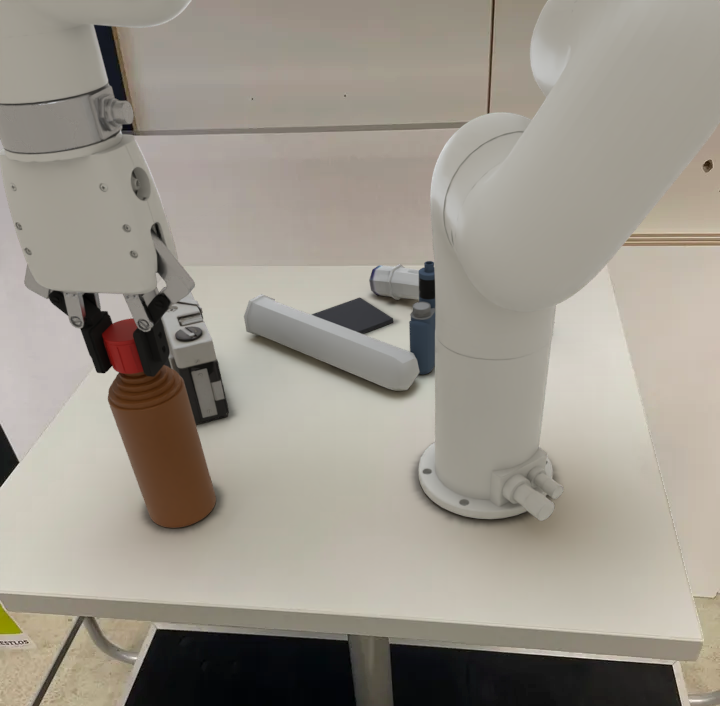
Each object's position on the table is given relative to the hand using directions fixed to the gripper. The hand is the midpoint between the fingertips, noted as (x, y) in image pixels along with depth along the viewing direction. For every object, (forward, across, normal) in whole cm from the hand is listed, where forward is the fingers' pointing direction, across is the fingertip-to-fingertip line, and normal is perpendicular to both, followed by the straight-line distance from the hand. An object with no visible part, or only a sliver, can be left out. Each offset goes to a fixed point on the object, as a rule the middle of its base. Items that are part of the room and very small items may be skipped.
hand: (133, 364), depth 58 cm
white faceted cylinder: (+16, -22, -42) cm, 50 cm away
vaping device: (+16, -20, -28) cm, 38 cm away
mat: (+16, -8, -38) cm, 42 cm away
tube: (+16, -8, -28) cm, 33 cm away
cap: (0, 0, -1) cm, 1 cm away
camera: (+16, +7, -19) cm, 26 cm away
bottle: (+16, 0, 0) cm, 16 cm away
